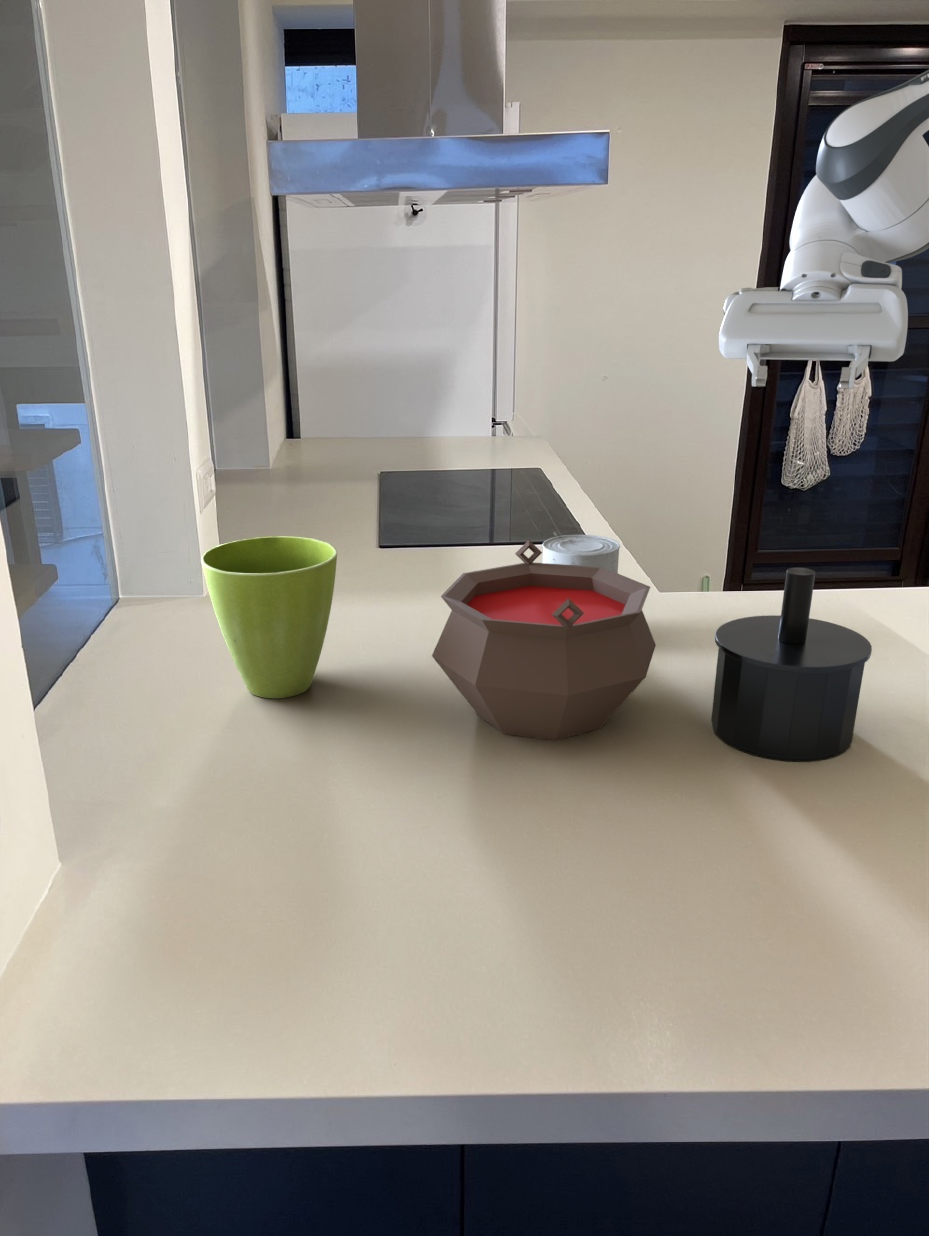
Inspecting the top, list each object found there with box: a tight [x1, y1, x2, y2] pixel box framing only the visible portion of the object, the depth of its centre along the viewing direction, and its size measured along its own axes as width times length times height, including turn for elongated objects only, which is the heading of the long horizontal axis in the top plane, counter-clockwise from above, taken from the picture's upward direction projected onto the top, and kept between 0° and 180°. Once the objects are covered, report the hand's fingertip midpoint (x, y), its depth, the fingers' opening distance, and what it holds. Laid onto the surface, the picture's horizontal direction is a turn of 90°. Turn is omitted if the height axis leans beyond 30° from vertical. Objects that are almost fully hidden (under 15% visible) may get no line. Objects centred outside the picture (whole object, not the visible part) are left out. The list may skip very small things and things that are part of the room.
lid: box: [714, 567, 873, 673], centre depth 99 cm, size 15×15×8 cm
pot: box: [710, 648, 866, 763], centre depth 102 cm, size 14×14×10 cm
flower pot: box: [200, 535, 338, 699], centre depth 115 cm, size 15×15×16 cm
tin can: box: [541, 534, 621, 574], centre depth 128 cm, size 10×10×12 cm
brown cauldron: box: [431, 539, 657, 741], centre depth 107 cm, size 24×24×16 cm
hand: (801, 384), depth 114 cm, fingers open, 8 cm apart
